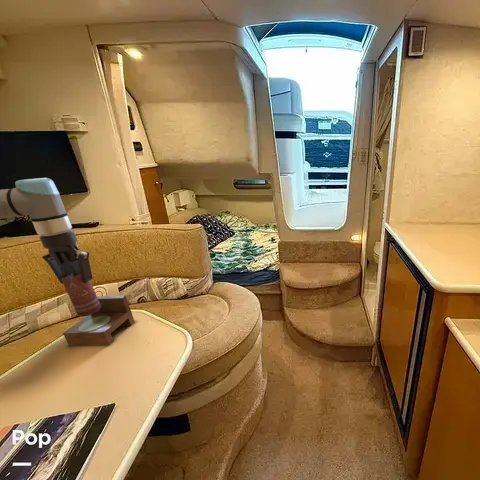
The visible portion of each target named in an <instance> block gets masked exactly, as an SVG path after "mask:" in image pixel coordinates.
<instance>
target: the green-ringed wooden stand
mask: <svg viewBox="0 0 480 480" xmlns="http://www.w3.org/2000/svg"><path fill="white" fill-rule="evenodd" d="M97 298H98V300H99V303H100V305H101V308H100V310H99V311H97V312H96V313H94V314H91V315H88V316H84V318H81V320H79V321H77V322H76V323H75V324H74V325H72V326H71V327H69V328H68V329H66V330H65V331H63V332H62V334H63V337H64V339H65V341H66V343H67V345H68V347H104V346H105V347H109V346H111V345H112V343H114V342H115V341H114V338H113V336H112V333H113V332H114V331H116V330H117V329H118V328H119V327H131V326H133V325H134V324H135V323H136V321H135V318H134V315H133V313H132V310H131V307H130V304H129V301H128V298H127V296H126V295H102V296H101V295H100V296H99V295H97Z"/></svg>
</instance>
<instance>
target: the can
mask: <svg viewBox="0 0 480 480" xmlns="http://www.w3.org/2000/svg"><path fill="white" fill-rule="evenodd" d="M62 282H63V284H62V285H63V287H64V289H65V290H66V292H67V293H66V294H67V295H68V298H69V300H70V302H71V304H72V306H73V308H74V310H75V312H76V315H77V316H79V317H84V318H85V317H87V316H88V315H91V314H94V313H96V312H97V311H99V310H100V308H101V305H100V303H99V300H98V298H97V296H98V295H97V293H96V291H95V288H94V286H93V284H92V281H91V280H90V281H88V282H86V283H83V282H82V278H81V274H79V275H76V276H74V275H73V274H71V275H67V276H66V277H64V276H62Z"/></svg>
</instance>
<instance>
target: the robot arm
mask: <svg viewBox="0 0 480 480" xmlns="http://www.w3.org/2000/svg"><path fill="white" fill-rule="evenodd" d="M14 184H15V187H13V188H5V189H0V220H2V219H8V218H16V217H24V216H28V217H29V218H30V220H31V222H32V224H33V227H34V230H35V232H36V234H37V235H39V240H40V242H41V244H42V245H41V246H42V247H43V248H44V249H46V250H47V252H48V253H46V254H44V255H42V257H41V258H42V259H43V260H44V261H45V262H46V264H48V266H49V267H50V269H51V270H52V272H53V273H54V275H55V277H56V278H57V280H58V282H59V283H60V284H62V285H64V284H63V282H62V276H64V277H66V276H67V275H71V274H73V275H74V276H76V275H79V274H81V278H82V282H83V283H86V282H88V281H91V280H93V274H92V268H91V264H90V259H89V257H90V252H89V251H88V250H85V251H82V250H80V247H79V246H78V245H77V241H78V238H77V235H76V233H75V231H74V230H73V229H72V228H73V226H72V224H71V221H70V218H69V216H68V213H67V211H66V208H65V205H64V202H63V200H62V198H61V194H60V192H59V190H58V188H57V186H56V184H55V182H54V180H52V179H51V178H49V177H38V178H37V177H36V178H27V179H20V180H16V181H15V183H14Z"/></svg>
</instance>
